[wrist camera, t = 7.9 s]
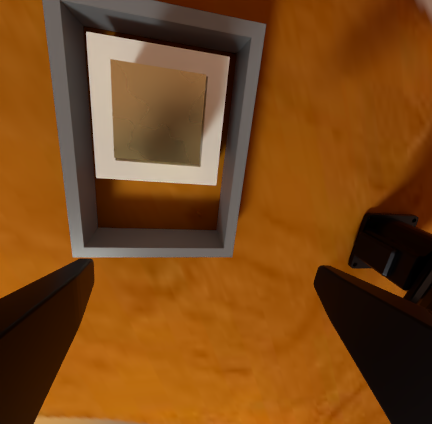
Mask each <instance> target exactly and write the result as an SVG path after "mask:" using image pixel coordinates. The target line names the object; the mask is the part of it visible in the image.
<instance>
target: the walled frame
mask: <svg viewBox="0 0 432 424" xmlns="http://www.w3.org/2000/svg"><path fill="white" fill-rule="evenodd" d="M42 1H43V10H44V18H45V26H46V35H47V43H48V52H49V60H50V69H51V77H52V86H53V94H54V103H55V111H56V119H57V128H58V136H59V145H60V153H61V162H62V170H63V179H64V187H65V195H66V204H67V212H68V221H69V229H70V238H71V246H72V255H73V257H232V255H233V248H234V241H235V234H236V227H237V221H238V214H239V207H240V200H241V193H242V186H243V180H244V173H245V166H246V159H247V152H248V146H249V139H250V132H251V125H252V118H253V111H254V105H255V98H256V91H257V84H258V77H259V70H260V64H261V57H262V50H263V43H264V36H265V29H266V24H263V23H258V22H254V21H249V20H244V19H239V18H235V17H230V16H225V15H220V14H216V13H211V12H206V11H202V10H197V9H192V8H187V7H183V6H178V5H173V4H168V3H164V2H159V1H154V0H42ZM83 26H86V27H92V28H97V29H103V30H108V31H114V32H119V33H125V34H131V35H136V36H142V37H147V38H153V39H158V40H164V41H170V42H175V43H181V44H186V45H192V46H197V47H203V48H209V49H214V50H220V51H225V52H231V53H236V54H237V55H236V64H235V73H234V81H233V90H232V99H231V107H230V116H229V125H228V133H227V142H226V151H225V159H224V168H223V177H222V185H221V194H220V203H219V211H218V220H217V229H216V230H183V229H138V228H98V220H97V206H96V193H95V179H94V165H93V151H92V138H91V124H90V110H89V97H88V83H87V69H86V55H85V42H84V28H83ZM86 40H87V54H88V69H89V83H90V97H91V111H92V125H93V140H94V154H95V168H96V178H104V179H120V180H137V181H153V182H169V183H186V184H202V185H216V182H217V172H218V163H219V154H220V144H221V135H222V125H223V116H224V107H225V97H226V88H227V79H228V69H229V60H230V57H228V56H223V55H217V54H211V53H206V52H200V51H194V50H189V49H183V48H177V47H172V46H166V45H160V44H154V43H149V42H143V41H137V40H132V39H126V38H120V37H115V36H109V35H103V34H98V33H92V32H86ZM110 59H113V60H119V61H126V62H132V63H138V64H144V65H150V66H157V67H163V68H169V69H175V70H181V71H188V72H194V73H200V74H206V84H205V96H204V108H203V120H202V132H201V144H200V157H199V165H198V164H186V163H174V162H161V161H149V160H137V159H125V158H114V142H113V116H112V91H111V65H110Z"/></svg>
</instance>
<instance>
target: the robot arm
mask: <svg viewBox="0 0 432 424" xmlns="http://www.w3.org/2000/svg"><path fill="white" fill-rule="evenodd" d="M369 218H370V219H369ZM417 222H418V217H417V216H414V215H404V214H380V213H368V214H366V215H365V217H364V219H363V222H362V225H361V228H360V231H359V234H358V237H357V240H356V242H355V245H354V248H353V251H352V254H351V257H350V260H349V263H348V265H349V266H350V267H351V268H373V269H374V270H375V271H377V272H378V273H380V274H381V275H382V276H385V277H386V278H387V279H389V280H390V281H391V282H393V283H394V284H396V285H397V286H398V287H400V288H401V289H403V290H405V291H406V292H407V293H406V294H405V296H404V297H403V298H402V297H399V296H397V295H395V294H392V293H390V292H388V291H386V290H383V289H381V288H379V287H377V286H374V285H372V284H370V283H368V282H365V281H363V280H361V279H359V278H356V277H354V276H352V275H349V274H347V273H345V272H343V271H340V270H338V269H336V268H334V267H331V266H324V265H322V266H319V268H318V270H317V273H316V276H315V279H314V288H315V290H316V292H317V294H318V296H319V298H320V300H321V302H322V305H323V307H324V309H325V311H326V313H327V315H328V317H329V319H330V321H331V323H332V324H333V326H334V328H335V330H336V331H337V333H338V335H339V336H340V338H341V340H342V341H343V343H344V345H345V346H346V348H347V350H348V352H349V353H350V355H351V357H352V358H353V360H354V362H355V363H356V365H357V367H358V368H359V370H360V372H361V374H362V375H363V377H364V379H365V380H366V382H367V384H368V385H369V387H370V389H371V390H372V392H373V394H374V396H375V397H376V399H377V401H378V402H379V404H380V406H381V407H382V409H383V411H384V412H385V414H386V416H387V418H388V419H389V421H390V423H391V424H432V234H431V233H428V232H426V231H424V230H421V229H419V228H417V227H415V226H416V224H417ZM93 285H94V262H93V260H92V259H78V260H76V261H74V262H72V263H70V264H68V265H66V266H64V267H62V268H60V269H58V270H56V271H54V272H52V273H50V274H48V275H46V276H44V277H42V278H40V279H38V280H36V281H34V282H32V283H30V284H28V285H27V286H25V287H23V288H21V289H19V290H17V291H15V292H13V293H11V294H9V295H7V296H5V297H3V298H1V299H0V424H34V422H35V419H36V417H37V415H38V413H39V411H40V409H41V407H42V405H43V403H44V400H45V398H46V396H47V394H48V392H49V390H50V388H51V386H52V383H53V381H54V379H55V377H56V375H57V373H58V371H59V369H60V367H61V364H62V362H63V360H64V358H65V356H66V354H67V352H68V350H69V347H70V345H71V343H72V341H73V339H74V337H75V335H76V333H77V330H78V328H79V326H80V323H81V321H82V318H83V315H84V312H85V309H86V306H87V303H88V300H89V297H90V294H91V291H92V288H93Z"/></svg>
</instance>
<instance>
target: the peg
mask: <svg viewBox="0 0 432 424" xmlns="http://www.w3.org/2000/svg"><path fill="white" fill-rule="evenodd" d="M110 65H111V91H112V116H113V142H114V158H125V159H137V160H149V161H161V162H174V163H186V164H198V165H199V157H200V144H201V132H202V120H203V108H204V96H205V84H206V74H200V73H194V72H188V71H181V70H175V69H169V68H163V67H157V66H150V65H144V64H138V63H132V62H126V61H119V60H113V59H110Z"/></svg>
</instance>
